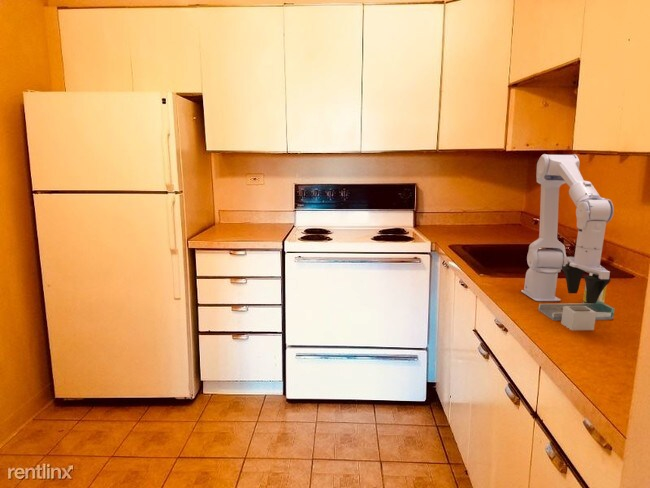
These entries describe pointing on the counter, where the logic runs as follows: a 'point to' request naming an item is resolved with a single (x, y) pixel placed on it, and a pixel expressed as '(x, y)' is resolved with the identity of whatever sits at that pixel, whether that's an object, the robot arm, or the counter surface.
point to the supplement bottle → (601, 297)
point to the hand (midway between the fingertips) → (581, 297)
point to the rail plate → (556, 310)
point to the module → (578, 318)
